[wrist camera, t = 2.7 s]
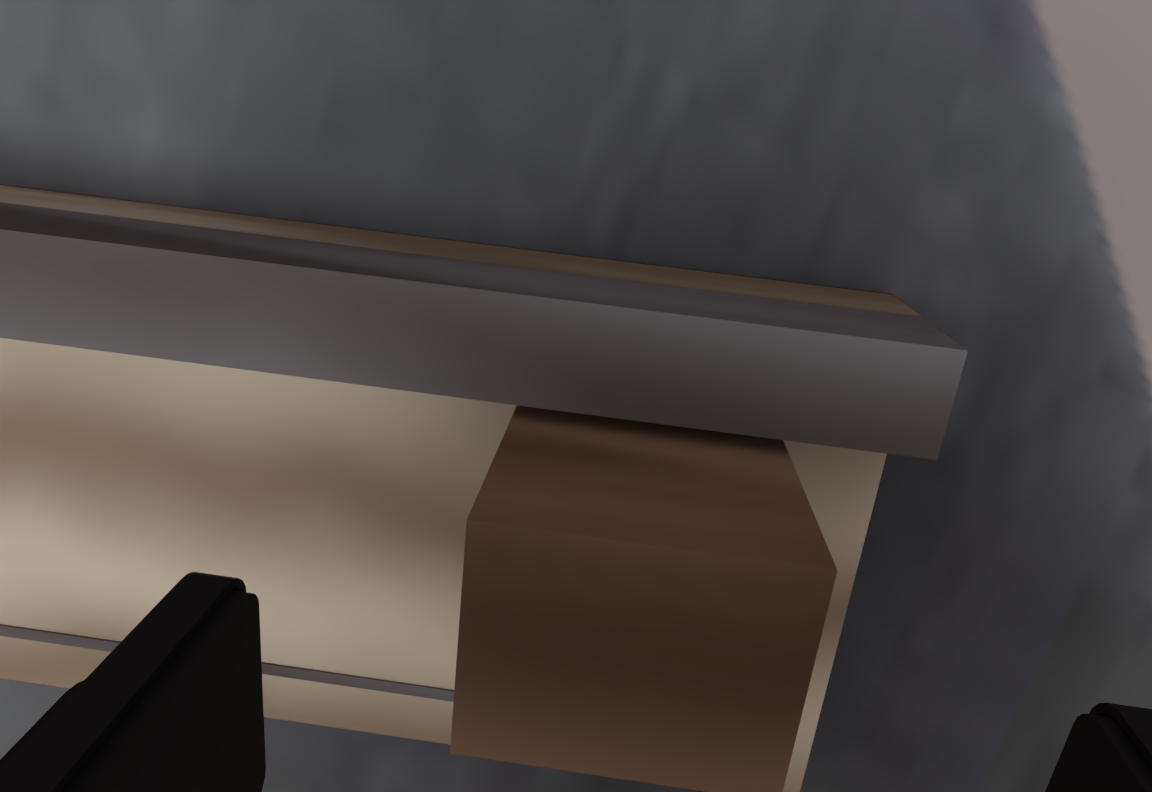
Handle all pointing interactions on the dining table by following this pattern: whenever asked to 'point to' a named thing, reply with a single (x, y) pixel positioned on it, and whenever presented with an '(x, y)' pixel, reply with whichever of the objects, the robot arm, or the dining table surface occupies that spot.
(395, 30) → the dining table surface
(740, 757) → the brown block with peg
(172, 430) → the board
